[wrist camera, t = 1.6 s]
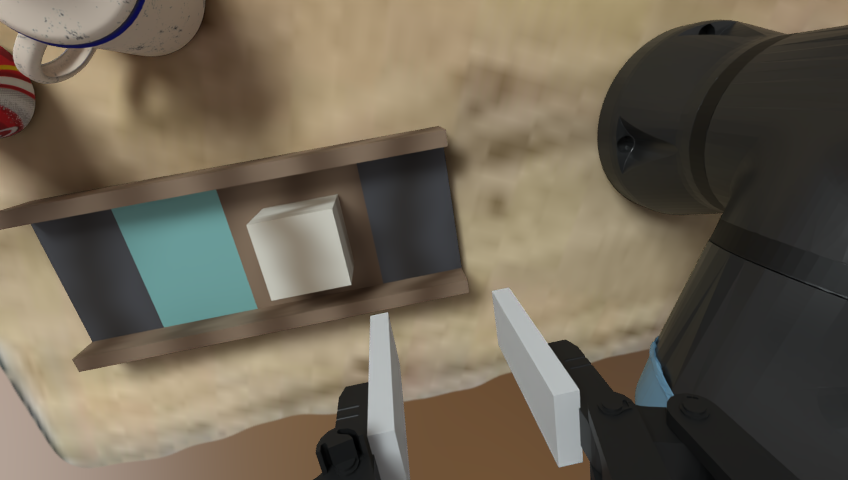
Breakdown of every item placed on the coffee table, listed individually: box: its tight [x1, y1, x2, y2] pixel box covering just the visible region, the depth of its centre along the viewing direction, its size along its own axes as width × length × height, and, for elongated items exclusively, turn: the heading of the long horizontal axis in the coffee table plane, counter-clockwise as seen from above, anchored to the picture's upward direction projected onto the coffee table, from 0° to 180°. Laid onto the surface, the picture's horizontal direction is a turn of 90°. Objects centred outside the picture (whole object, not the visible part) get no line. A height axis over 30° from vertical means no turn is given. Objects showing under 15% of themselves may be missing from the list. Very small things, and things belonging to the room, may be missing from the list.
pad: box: [111, 190, 258, 327], centre depth 34 cm, size 8×11×1 cm
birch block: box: [246, 194, 354, 301], centre depth 32 cm, size 6×6×4 cm
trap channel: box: [0, 126, 469, 372], centre depth 33 cm, size 32×13×4 cm, turn 100°
